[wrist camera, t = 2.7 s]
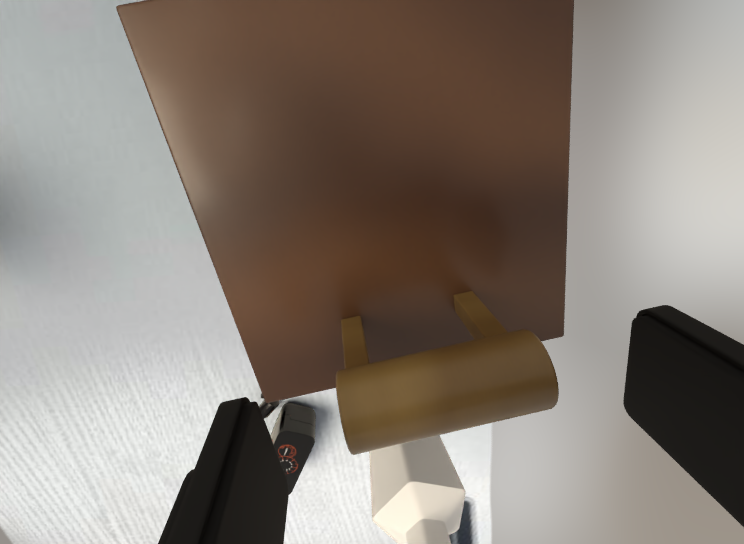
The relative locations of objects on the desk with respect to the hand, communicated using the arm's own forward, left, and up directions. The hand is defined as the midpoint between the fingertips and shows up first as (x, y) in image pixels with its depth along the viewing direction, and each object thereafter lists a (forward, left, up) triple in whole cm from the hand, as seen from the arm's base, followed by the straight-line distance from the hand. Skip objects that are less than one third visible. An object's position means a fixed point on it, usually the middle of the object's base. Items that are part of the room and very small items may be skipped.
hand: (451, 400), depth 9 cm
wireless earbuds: (+3, -18, -17) cm, 25 cm away
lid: (-3, +3, -5) cm, 6 cm away
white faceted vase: (+7, -9, -17) cm, 20 cm away
